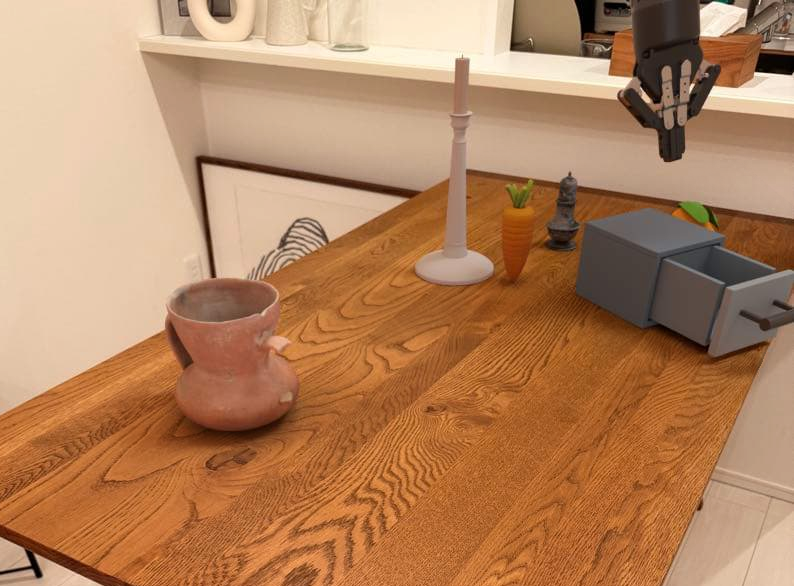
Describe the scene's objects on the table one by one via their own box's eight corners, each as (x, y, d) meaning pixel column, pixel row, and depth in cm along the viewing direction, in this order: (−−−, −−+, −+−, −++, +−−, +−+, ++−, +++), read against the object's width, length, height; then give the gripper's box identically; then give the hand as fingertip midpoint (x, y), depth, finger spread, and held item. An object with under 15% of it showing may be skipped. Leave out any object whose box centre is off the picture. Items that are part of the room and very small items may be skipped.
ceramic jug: (334, 404, 92) (325, 290, 83) (253, 462, 83) (233, 340, 74) (225, 366, 100) (207, 258, 91) (140, 415, 91) (110, 300, 82)
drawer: (806, 351, 99) (830, 284, 93) (744, 372, 95) (765, 304, 89) (699, 301, 111) (715, 240, 106) (640, 318, 107) (653, 256, 101)
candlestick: (505, 263, 126) (522, 50, 107) (475, 290, 118) (488, 64, 98) (435, 251, 131) (439, 45, 112) (401, 277, 123) (400, 58, 103)
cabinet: (706, 309, 111) (726, 235, 104) (641, 329, 107) (657, 252, 100) (636, 276, 121) (650, 207, 114) (574, 293, 117) (584, 221, 110)
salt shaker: (537, 241, 134) (545, 168, 126) (567, 237, 135) (577, 164, 127) (553, 253, 130) (562, 177, 122) (584, 248, 131) (595, 173, 123)
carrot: (493, 285, 119) (500, 183, 110) (501, 273, 123) (509, 174, 113) (524, 289, 118) (534, 186, 108) (531, 277, 121) (542, 177, 112)
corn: (709, 189, 130) (744, 229, 115) (701, 235, 135) (733, 278, 119) (664, 192, 130) (692, 232, 115) (658, 238, 135) (684, 281, 120)
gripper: (626, 8, 85) (638, 175, 94) (735, -22, 86) (738, 146, 94) (597, 19, 92) (611, 174, 100) (699, -9, 93) (705, 147, 101)
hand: (672, 160), depth 97 cm, fingers closed
